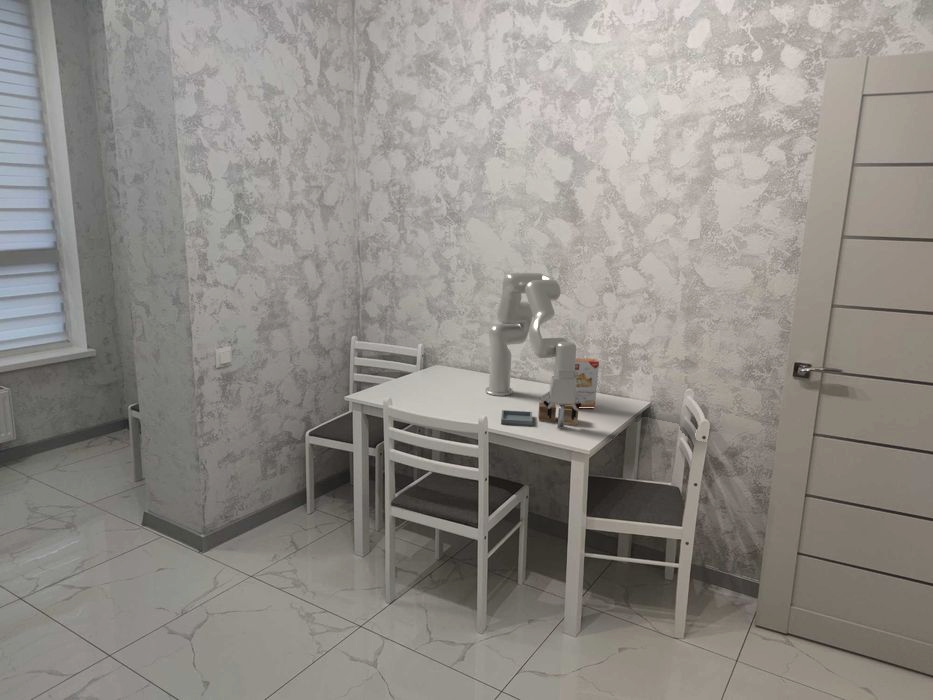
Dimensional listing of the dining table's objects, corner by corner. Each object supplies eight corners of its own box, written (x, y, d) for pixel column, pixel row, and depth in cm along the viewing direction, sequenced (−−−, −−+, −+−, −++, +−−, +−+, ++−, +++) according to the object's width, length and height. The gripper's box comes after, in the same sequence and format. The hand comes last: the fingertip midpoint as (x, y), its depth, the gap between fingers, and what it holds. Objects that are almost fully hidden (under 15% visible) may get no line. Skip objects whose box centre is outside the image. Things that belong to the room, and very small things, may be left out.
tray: (501, 414, 259) (502, 410, 259) (531, 416, 258) (531, 411, 258) (501, 424, 247) (501, 419, 247) (532, 426, 247) (532, 421, 246)
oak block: (559, 419, 257) (560, 404, 255) (575, 420, 256) (576, 405, 255) (560, 424, 250) (561, 409, 249) (577, 425, 250) (578, 410, 249)
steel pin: (557, 425, 248) (558, 403, 246) (563, 426, 248) (565, 403, 246) (557, 427, 246) (559, 405, 244) (564, 428, 246) (565, 405, 244)
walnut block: (538, 416, 259) (539, 402, 258) (554, 417, 259) (555, 403, 258) (538, 421, 253) (539, 406, 252) (555, 422, 253) (556, 407, 251)
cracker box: (563, 409, 270) (566, 360, 266) (559, 404, 276) (563, 357, 271) (595, 409, 271) (599, 361, 267) (591, 405, 277) (595, 358, 273)
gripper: (586, 373, 245) (583, 416, 249) (540, 370, 247) (538, 414, 250) (588, 378, 238) (585, 422, 242) (541, 375, 239) (538, 420, 243)
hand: (561, 418), depth 246 cm, fingers open, 8 cm apart
